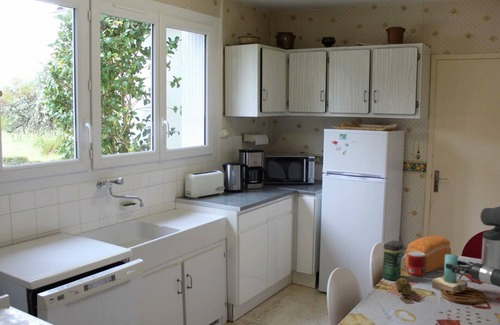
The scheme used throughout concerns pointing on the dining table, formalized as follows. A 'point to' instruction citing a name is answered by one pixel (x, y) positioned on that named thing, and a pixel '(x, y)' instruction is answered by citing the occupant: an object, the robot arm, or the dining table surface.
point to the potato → (403, 286)
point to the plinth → (448, 284)
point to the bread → (430, 251)
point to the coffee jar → (392, 260)
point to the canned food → (416, 263)
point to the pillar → (448, 273)
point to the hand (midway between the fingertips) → (451, 264)
